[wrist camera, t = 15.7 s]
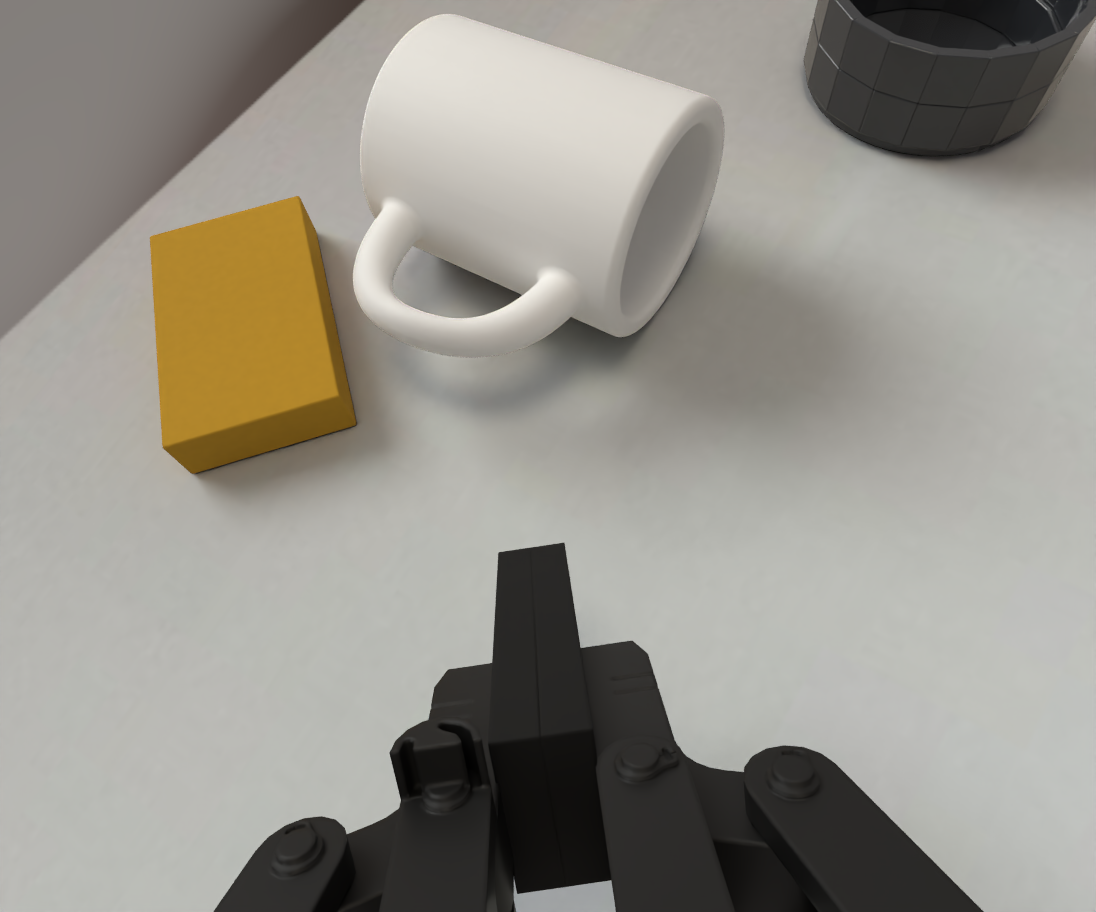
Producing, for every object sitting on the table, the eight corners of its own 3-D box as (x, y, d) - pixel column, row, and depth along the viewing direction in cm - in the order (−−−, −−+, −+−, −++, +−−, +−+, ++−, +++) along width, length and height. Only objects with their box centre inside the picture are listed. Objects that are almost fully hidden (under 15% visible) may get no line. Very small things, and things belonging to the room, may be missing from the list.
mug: (504, 154, 33) (473, -37, 26) (712, 234, 30) (742, 42, 23) (329, 352, 28) (235, 188, 21) (552, 469, 25) (527, 323, 18)
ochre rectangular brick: (192, 475, 26) (161, 448, 25) (175, 270, 31) (148, 235, 29) (357, 426, 27) (339, 395, 25) (316, 231, 31) (298, 194, 30)
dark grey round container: (871, 188, 30) (910, 87, 26) (764, 42, 35) (783, -62, 31) (1095, 123, 31) (1165, 15, 27) (960, -11, 36) (1003, -119, 32)
